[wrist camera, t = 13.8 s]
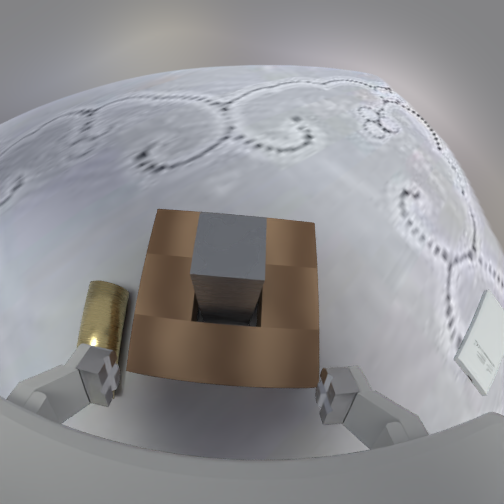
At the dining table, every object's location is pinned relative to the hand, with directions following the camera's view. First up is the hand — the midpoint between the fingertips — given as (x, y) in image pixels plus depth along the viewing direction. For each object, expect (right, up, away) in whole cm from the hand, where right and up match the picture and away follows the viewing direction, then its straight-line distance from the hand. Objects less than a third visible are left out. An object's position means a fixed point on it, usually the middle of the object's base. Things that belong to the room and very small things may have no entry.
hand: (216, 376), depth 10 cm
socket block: (-1, 0, +17) cm, 17 cm away
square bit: (-1, 0, +17) cm, 17 cm away
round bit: (-13, -4, +14) cm, 19 cm away
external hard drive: (+32, -7, +17) cm, 37 cm away
